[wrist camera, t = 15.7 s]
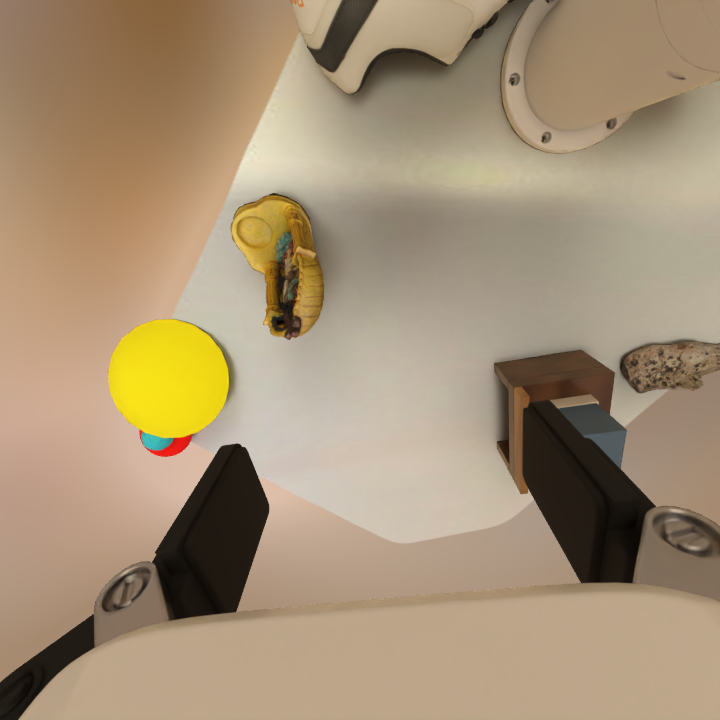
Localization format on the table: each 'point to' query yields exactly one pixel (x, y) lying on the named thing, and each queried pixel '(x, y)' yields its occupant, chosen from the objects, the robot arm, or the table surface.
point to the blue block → (594, 424)
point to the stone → (671, 366)
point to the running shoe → (388, 32)
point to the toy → (168, 383)
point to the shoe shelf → (547, 393)
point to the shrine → (282, 261)
